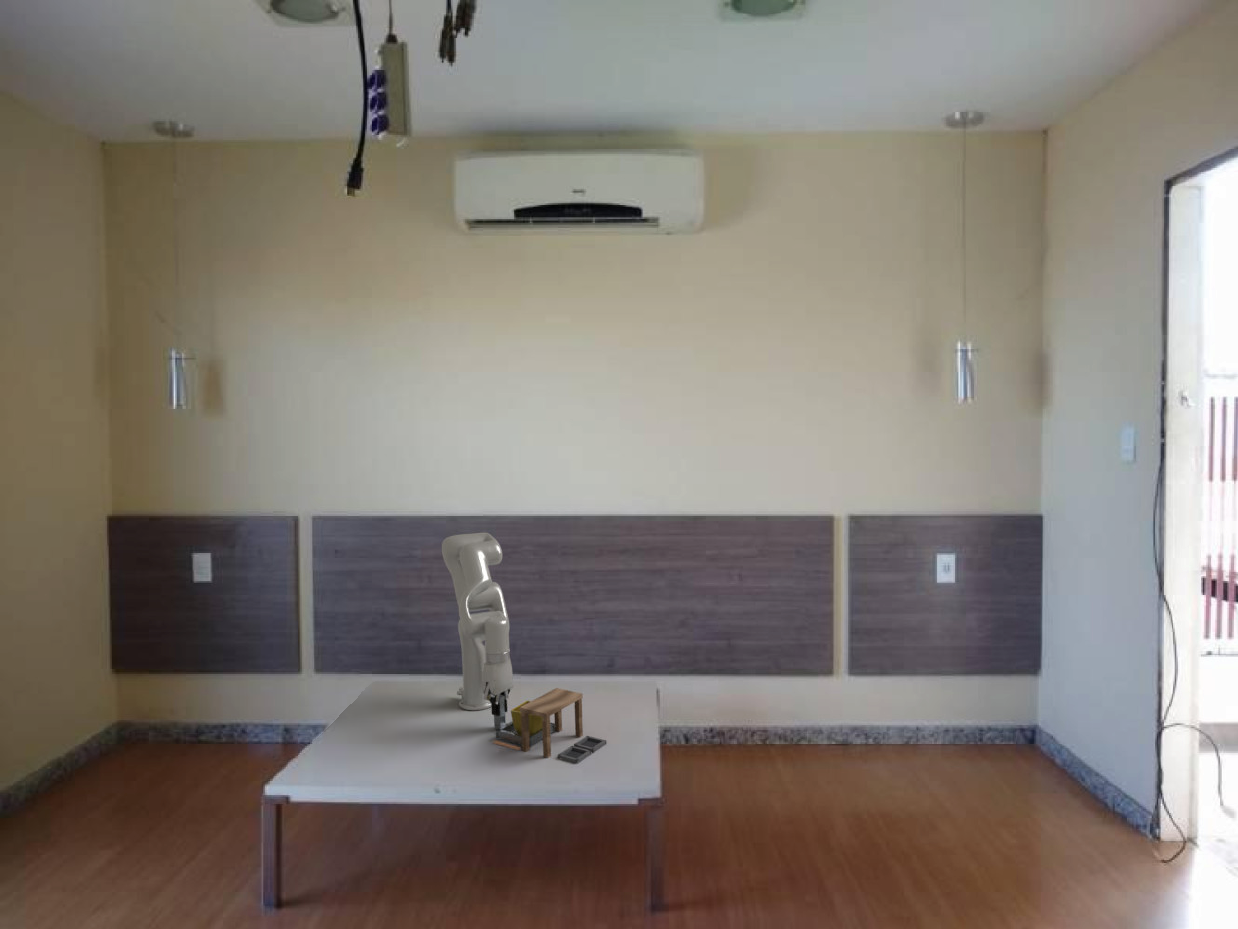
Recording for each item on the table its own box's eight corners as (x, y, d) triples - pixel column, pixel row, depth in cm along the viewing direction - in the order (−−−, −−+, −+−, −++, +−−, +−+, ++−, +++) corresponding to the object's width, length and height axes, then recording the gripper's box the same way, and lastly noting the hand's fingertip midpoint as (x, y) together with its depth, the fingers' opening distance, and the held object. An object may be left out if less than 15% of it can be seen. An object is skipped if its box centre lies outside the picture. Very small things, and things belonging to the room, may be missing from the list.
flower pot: (534, 743, 229) (533, 715, 228) (511, 738, 233) (510, 710, 233) (550, 732, 237) (549, 704, 236) (527, 727, 241) (527, 700, 240)
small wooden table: (521, 750, 225) (519, 707, 224) (557, 728, 240) (556, 688, 239) (547, 758, 219) (546, 713, 218) (583, 735, 234) (582, 693, 233)
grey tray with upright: (483, 734, 236) (482, 702, 235) (510, 719, 247) (509, 689, 246) (528, 747, 226) (527, 713, 226) (554, 731, 237) (553, 699, 236)
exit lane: (493, 742, 230) (493, 742, 230) (531, 721, 246) (531, 720, 246) (518, 750, 225) (518, 749, 225) (555, 728, 240) (555, 727, 240)
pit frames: (557, 758, 219) (557, 754, 219) (587, 738, 232) (587, 735, 232) (577, 763, 215) (577, 760, 215) (606, 743, 228) (606, 740, 228)
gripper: (505, 647, 248) (507, 702, 249) (470, 662, 235) (473, 720, 236) (523, 651, 244) (525, 706, 245) (489, 666, 231) (491, 724, 232)
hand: (499, 712), depth 241 cm, fingers closed on grey tray with upright, 2 cm apart
